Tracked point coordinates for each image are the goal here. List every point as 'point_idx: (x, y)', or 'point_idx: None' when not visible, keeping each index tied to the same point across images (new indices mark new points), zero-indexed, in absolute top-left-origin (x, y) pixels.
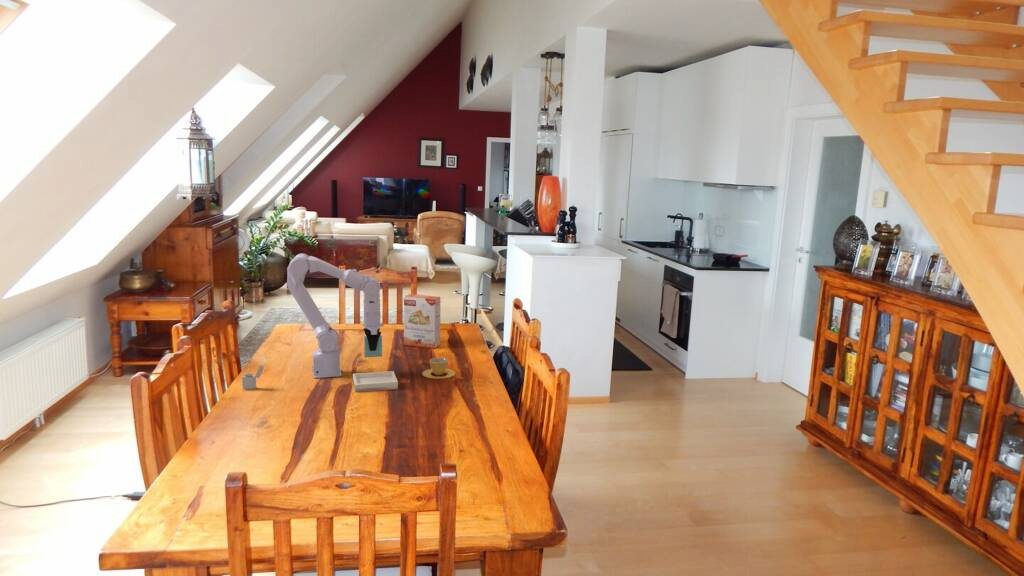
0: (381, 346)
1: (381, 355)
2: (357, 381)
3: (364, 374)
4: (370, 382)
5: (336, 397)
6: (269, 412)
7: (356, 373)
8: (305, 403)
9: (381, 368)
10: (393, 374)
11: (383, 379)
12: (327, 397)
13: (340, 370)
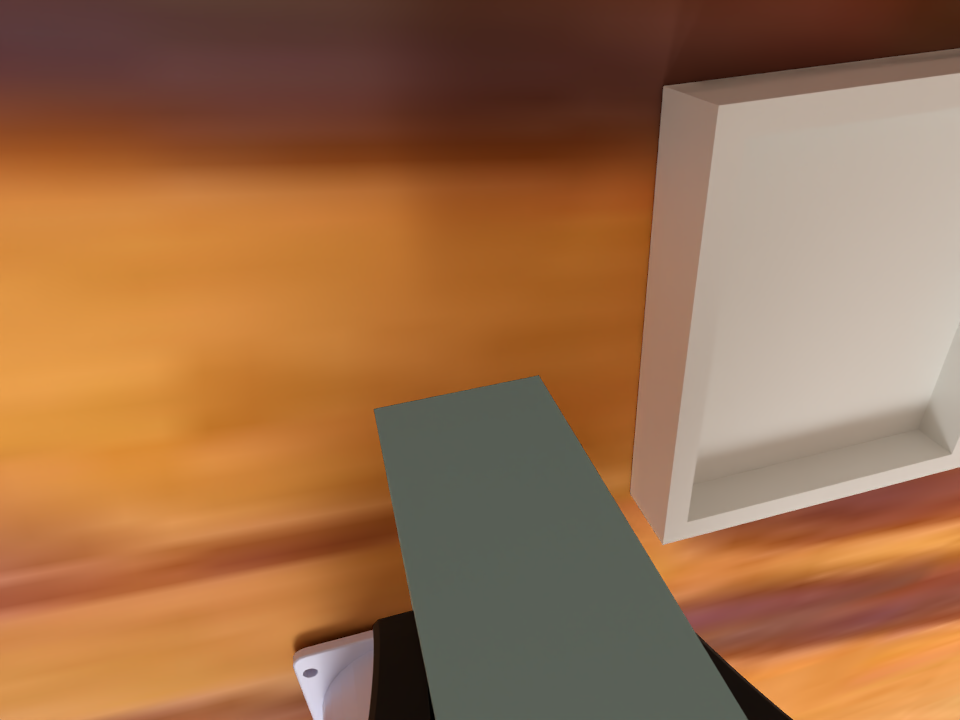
0: (624, 535)
1: (545, 399)
2: (756, 460)
3: (692, 444)
4: (832, 349)
5: (938, 513)
6: (955, 700)
7: (666, 518)
8: (934, 623)
9: (202, 272)
10: (865, 106)
11: (801, 224)
12: (908, 557)
13: (360, 644)
